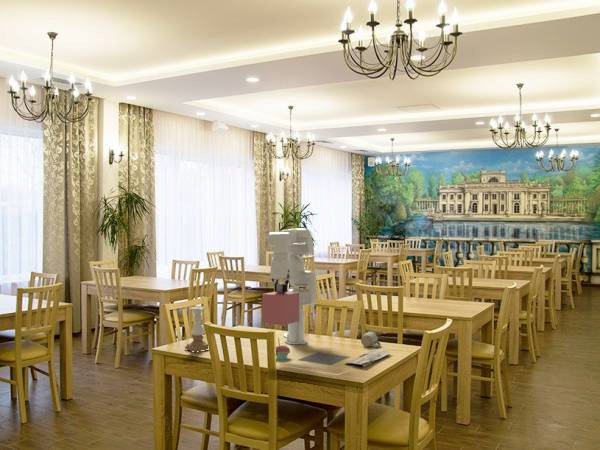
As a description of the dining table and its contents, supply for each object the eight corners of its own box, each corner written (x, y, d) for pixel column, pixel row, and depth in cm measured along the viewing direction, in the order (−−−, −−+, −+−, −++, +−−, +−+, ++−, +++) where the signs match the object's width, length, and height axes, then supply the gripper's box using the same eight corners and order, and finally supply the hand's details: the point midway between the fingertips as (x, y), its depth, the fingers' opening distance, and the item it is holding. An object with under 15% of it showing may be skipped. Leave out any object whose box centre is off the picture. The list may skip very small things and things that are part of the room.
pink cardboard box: (262, 323, 303) (262, 284, 303) (279, 319, 315) (278, 281, 315) (283, 325, 296) (283, 285, 296) (299, 321, 307) (299, 283, 307)
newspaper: (371, 353, 320) (371, 346, 320) (392, 355, 314) (392, 348, 314) (343, 367, 289) (343, 360, 289) (366, 370, 283) (366, 363, 283)
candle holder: (194, 353, 322) (194, 309, 322) (184, 349, 330) (184, 307, 330) (211, 350, 329) (211, 307, 329) (201, 347, 338) (200, 305, 337)
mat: (297, 361, 302) (297, 359, 302) (318, 353, 318) (318, 352, 318) (330, 366, 290) (330, 364, 290) (350, 358, 307) (350, 356, 307)
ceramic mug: (360, 346, 333) (360, 333, 333) (365, 344, 341) (365, 330, 340) (377, 348, 329) (378, 335, 328) (382, 346, 336) (382, 332, 336)
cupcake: (277, 362, 300) (277, 338, 300) (270, 358, 308) (270, 335, 308) (292, 360, 304) (292, 336, 304) (285, 356, 312) (285, 334, 312)
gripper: (263, 256, 307) (263, 291, 307) (289, 257, 297) (290, 293, 297) (271, 256, 313) (272, 290, 313) (298, 256, 304) (298, 292, 304)
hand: (280, 291), depth 305 cm, fingers closed on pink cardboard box, 4 cm apart
